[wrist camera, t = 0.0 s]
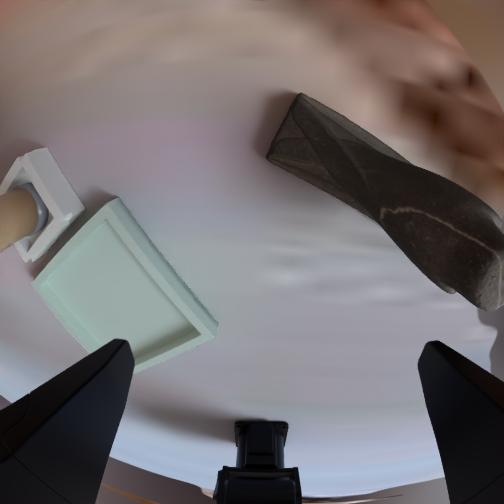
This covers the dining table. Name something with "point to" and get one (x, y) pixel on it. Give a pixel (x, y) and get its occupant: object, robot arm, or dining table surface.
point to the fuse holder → (44, 199)
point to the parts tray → (122, 291)
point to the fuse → (21, 214)
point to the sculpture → (398, 200)
